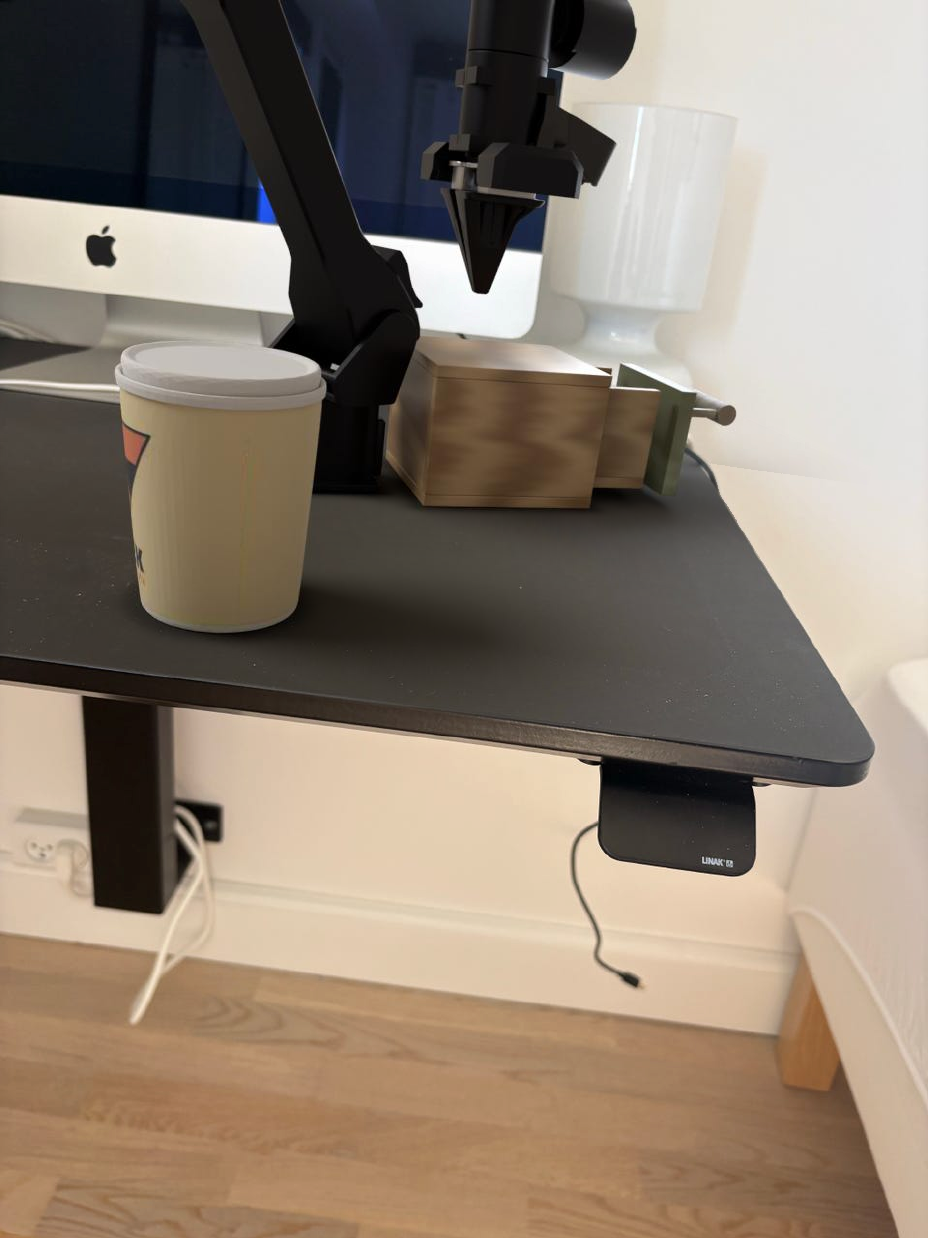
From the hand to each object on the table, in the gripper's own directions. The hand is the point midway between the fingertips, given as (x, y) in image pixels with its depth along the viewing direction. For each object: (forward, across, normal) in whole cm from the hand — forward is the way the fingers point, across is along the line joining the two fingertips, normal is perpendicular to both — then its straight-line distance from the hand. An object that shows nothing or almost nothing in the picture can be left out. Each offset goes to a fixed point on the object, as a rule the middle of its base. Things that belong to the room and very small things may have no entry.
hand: (480, 293), depth 73 cm
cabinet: (+13, -6, 0) cm, 14 cm away
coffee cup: (+13, -27, +21) cm, 37 cm away
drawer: (+12, -6, -10) cm, 17 cm away
